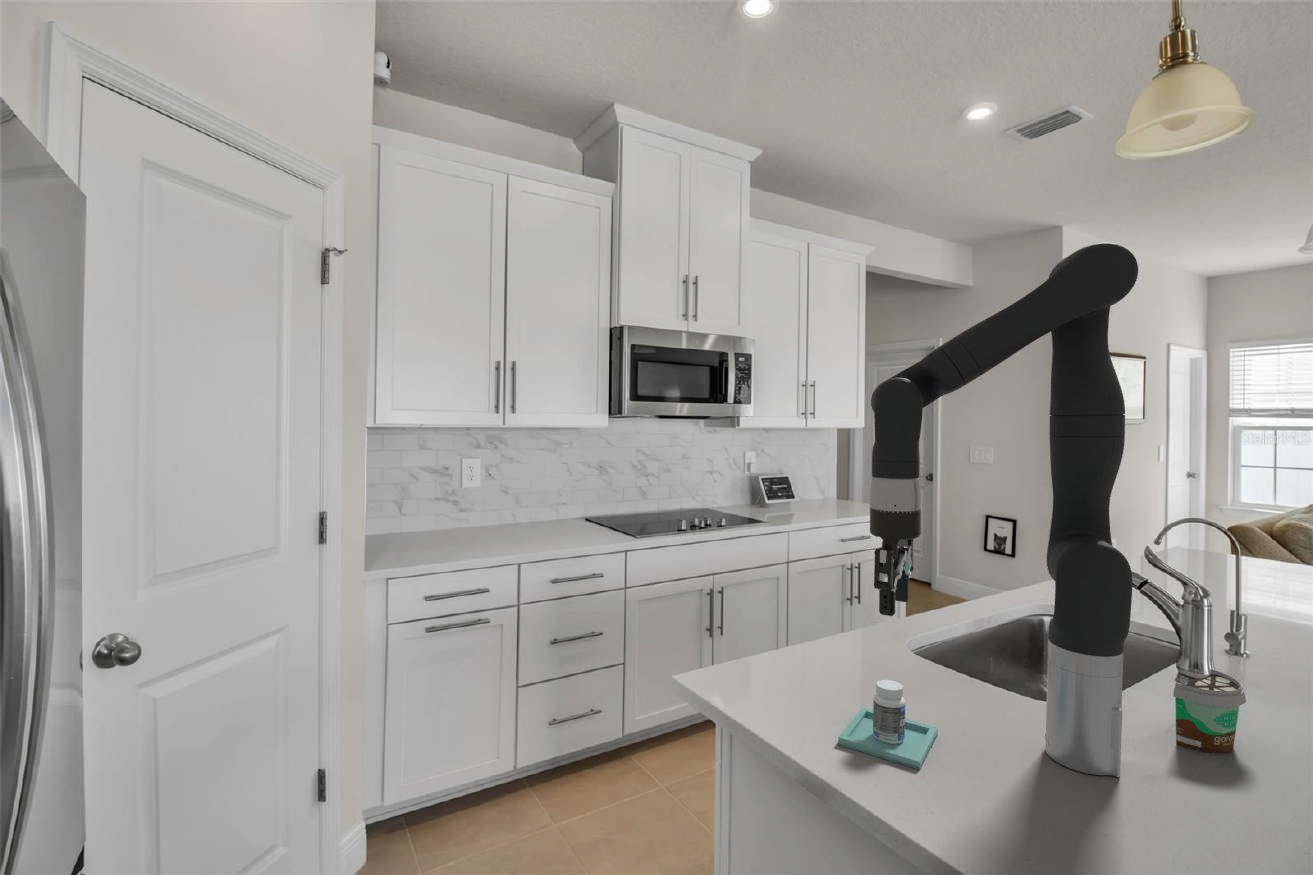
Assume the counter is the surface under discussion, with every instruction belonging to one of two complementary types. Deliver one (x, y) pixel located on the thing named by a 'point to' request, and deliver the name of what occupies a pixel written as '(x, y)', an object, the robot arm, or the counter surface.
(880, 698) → the pill bottle
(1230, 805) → the counter surface
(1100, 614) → the robot arm
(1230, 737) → the food container
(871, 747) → the tray
